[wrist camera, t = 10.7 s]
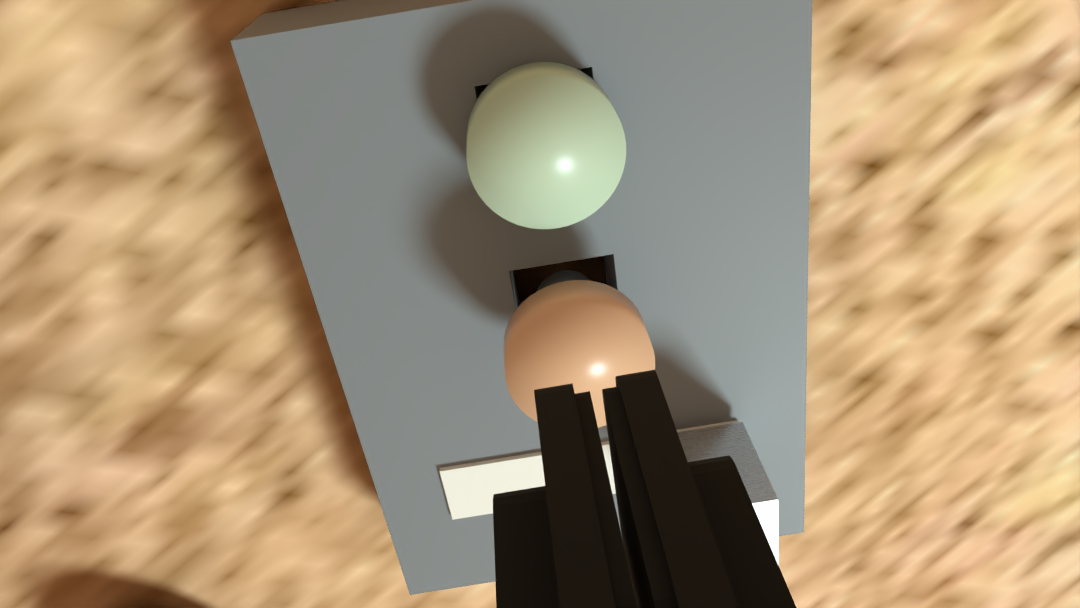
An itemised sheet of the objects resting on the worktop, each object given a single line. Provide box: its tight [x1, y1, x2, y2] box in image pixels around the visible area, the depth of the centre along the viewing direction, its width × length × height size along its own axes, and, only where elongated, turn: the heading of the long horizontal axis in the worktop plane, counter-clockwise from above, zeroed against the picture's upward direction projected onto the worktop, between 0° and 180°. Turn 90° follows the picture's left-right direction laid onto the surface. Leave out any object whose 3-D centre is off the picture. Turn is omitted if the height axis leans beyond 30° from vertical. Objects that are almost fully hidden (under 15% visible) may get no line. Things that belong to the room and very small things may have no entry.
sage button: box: [466, 62, 626, 229], centre depth 25 cm, size 4×4×4 cm
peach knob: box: [503, 270, 655, 428], centre depth 26 cm, size 4×4×4 cm
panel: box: [230, 0, 812, 595], centre depth 30 cm, size 22×16×4 cm
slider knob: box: [677, 422, 779, 566], centre depth 29 cm, size 3×3×4 cm
